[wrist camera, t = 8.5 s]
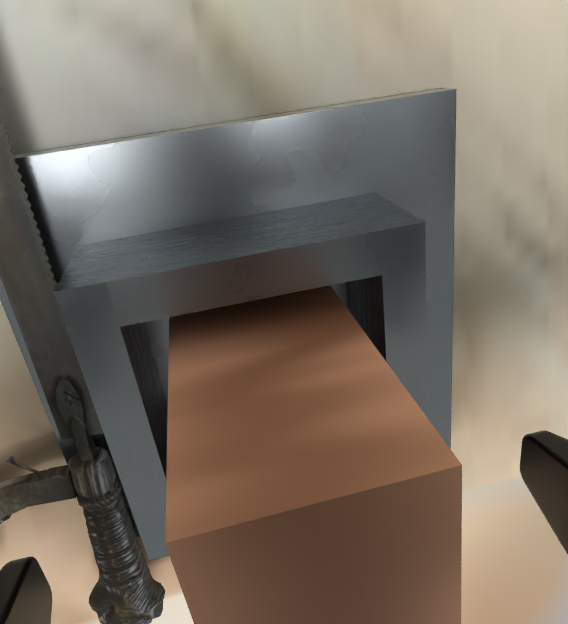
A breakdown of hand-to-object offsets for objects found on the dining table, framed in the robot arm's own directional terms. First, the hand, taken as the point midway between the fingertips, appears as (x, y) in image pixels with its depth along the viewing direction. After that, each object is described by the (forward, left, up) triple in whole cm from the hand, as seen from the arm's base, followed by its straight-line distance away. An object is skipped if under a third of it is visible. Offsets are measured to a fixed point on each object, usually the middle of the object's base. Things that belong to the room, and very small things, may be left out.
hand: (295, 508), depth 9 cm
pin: (0, 0, -6) cm, 6 cm away
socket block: (0, 0, -7) cm, 7 cm away
